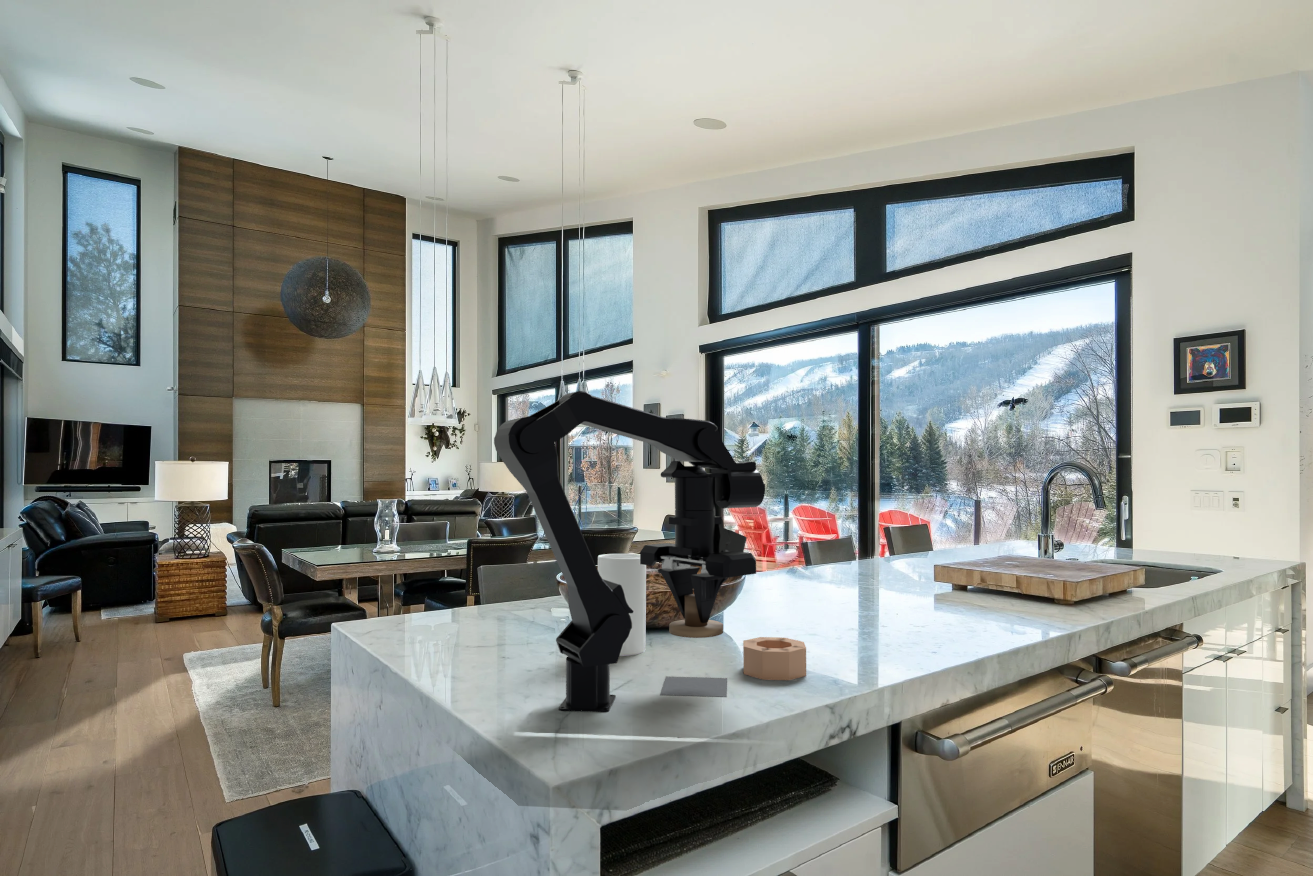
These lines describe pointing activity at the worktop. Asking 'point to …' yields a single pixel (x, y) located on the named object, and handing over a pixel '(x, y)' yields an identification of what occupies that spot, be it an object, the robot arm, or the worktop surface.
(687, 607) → the lid
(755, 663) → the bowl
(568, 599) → the robot arm
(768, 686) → the worktop surface
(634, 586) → the cup
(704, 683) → the mat
